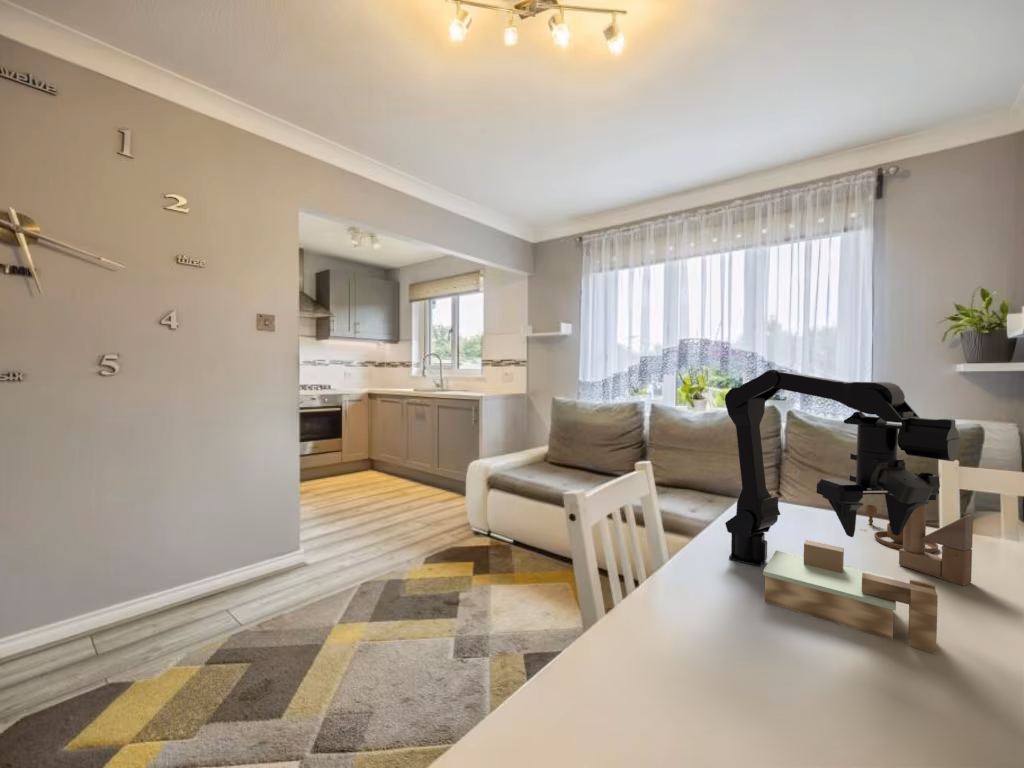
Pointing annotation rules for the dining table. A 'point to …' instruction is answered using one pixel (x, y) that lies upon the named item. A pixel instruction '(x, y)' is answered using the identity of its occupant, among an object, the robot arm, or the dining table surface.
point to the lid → (823, 572)
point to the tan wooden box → (861, 610)
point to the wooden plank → (889, 588)
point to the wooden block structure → (954, 548)
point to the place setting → (871, 512)
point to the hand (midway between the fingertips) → (873, 535)
